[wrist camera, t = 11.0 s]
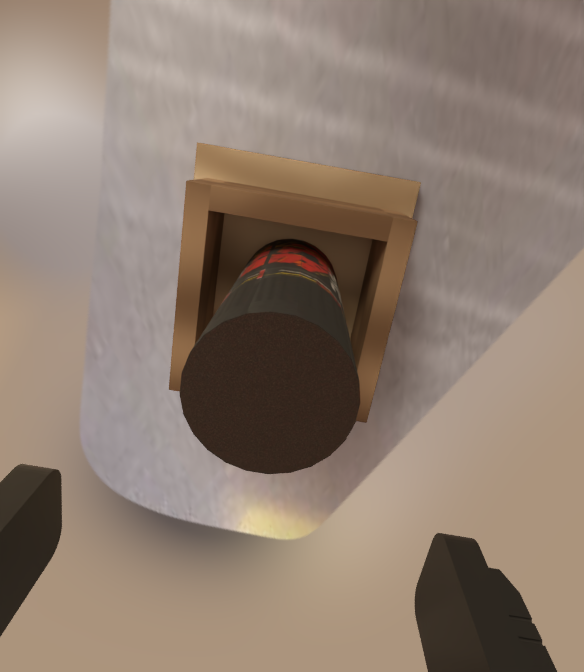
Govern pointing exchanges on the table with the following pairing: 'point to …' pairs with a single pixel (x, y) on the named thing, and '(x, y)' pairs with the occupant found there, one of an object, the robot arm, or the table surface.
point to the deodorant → (274, 365)
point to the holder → (294, 223)
